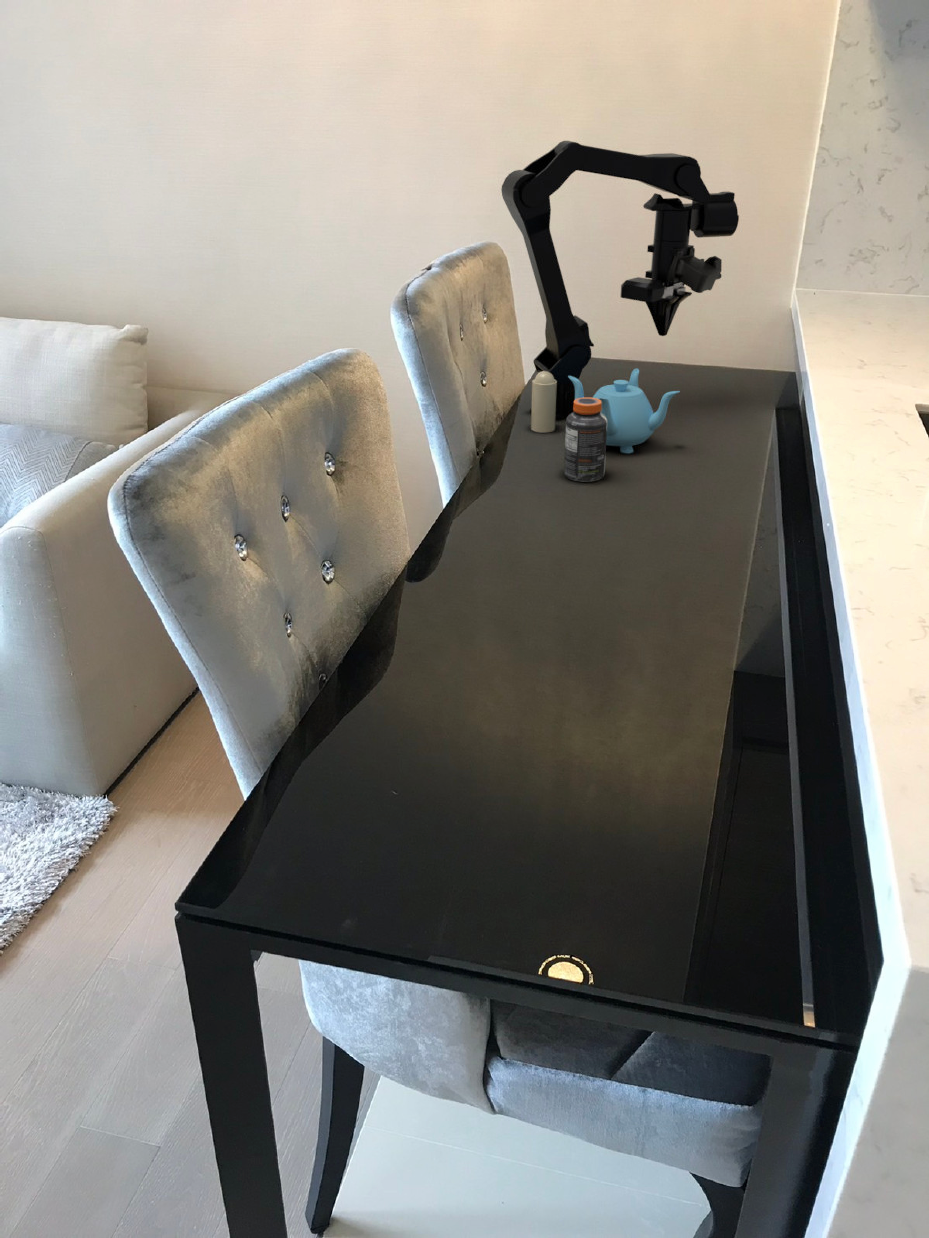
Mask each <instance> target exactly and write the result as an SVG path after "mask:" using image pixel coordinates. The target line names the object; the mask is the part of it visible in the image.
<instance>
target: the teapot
mask: <svg viewBox="0 0 929 1238" xmlns="http://www.w3.org/2000/svg"><path fill="white" fill-rule="evenodd" d="M639 375H640V369H639V368H634V369H633V370H632V371H631V374H630V377H629V380H625V379H616V380H614V381H613V384H608V385H603V386H601V387H599V389H598V390H596V392H595V393H594V395H593V396H592V398H597V399H599V400H601V401H602V410H601V413H602V414H603V415H604V416H605V417H606V418H607V438H606V446H611V447H619V448H620V449H619V450H620V452H621V453H623V454H631V453H634V448H633V446H636V445H640V444H642V443H644V442H646V441H647V440H648V439H649V438H650V437H651V436H652V435H653V434H654V432H655V430H656V429H658V428H659V427H661V425H662V424H663V423H664V422H665V419H666V416H667V414H668V413H667V412H668V407H669V403H670V401H671V399H672V398H673V397H674V396H676V395H677V394H679V393H680V392H681V391H680V390H673V391H672V390H671V391H667V392H666V393H664V394H663V395H662V397H661V400H660V403H659V406H658V409H657V410H656V411H655V412H654V410H653V408H652V405H651V402H650V401H649V398H648V397H647V395H646V394H645V392H644V391H643V390H642V388H640V387H639ZM568 377H569V379H570V380H571V381H572V382H573V384H574V387H575V399H578V398H584V397H585V393H584V387H583V384H582V382H581V380H580V379H579V380H578V379H577V378H575V377H572V376H568Z"/></svg>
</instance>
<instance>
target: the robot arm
mask: <svg viewBox="0 0 929 1238" xmlns="http://www.w3.org/2000/svg"><path fill="white" fill-rule="evenodd" d="M576 171H580V172H584V173H591V174H597V175H603V176H608V177H614V178H620V179H625V180H626V179H627V180H632V181H638V182H640V183H641V184H644V185H646V186H648V187H652V188H654V189H656V190H659V191H662V192H665V193H669V194H671V195H675V196H678V197H669V198H668V197H667V198H666V197H665V198H664V197H663V195H661V194H660V193H656V192H655V193H653V195H652V196H651V198H649V199H648V200H647V201H645V203H644V204H643V206H642V207H643V209H645V210H648V211H651V212H655V216H654V217H655V219H654V231H653V241H652V244H648V245H647V248H646V249H647V253H651V254H652V255H651V266H650V270H646V271H645V275H644V276H645V277H639V276H638V277H633V278H629V279H626V280H624V282H622V284H621V285H620V296H619V297H620V298H621V299H624V300H625V299H626V300H632V301H636V302H637V301H639V302H644V303H645V304H646V307H647V308H648V310H649V313H650V316H651V318H652V321H653V324H654V326H655V329H656V331H657V334H658V336H661V337H665V336H667V335H668V333H669V330H670V328H671V326H672V322H673V320H674V317H675V315H676V313H677V311H678V308H679V307H680V304H681V303H682V302H683V301H684V300H686V299H687V298H688V297H690V296H691V295H693V292H694V293H697V294H703V293H704V292H705V291H712V289H713V288H714V285H715V282H717V281H718V280H721V278H722V266H723V265H722V258H720V257H718V256H716V255H713V256H709V257H708V258H706V259H705V258H698V257H696V256H695V253H696V249H695V246H694V245H693V244H690V236H691V235H690V233H691V232H693V234H694V236H695V237H696V238H697V239H698V238H699V239H700V238H719V237H732V236H733V235H734V234H735V233H736V231H737V228H738V225H739V221H740V216H739V212H738V206H737V203H736V201H735V197H736V196H735V194H736V193H735V192H733V191H727V190H726V191H719V192H711V193H710V192H709V189H708V188H707V186H706V184H705V182H704V180H703V178H702V177H701V176H702V170H701V166H700V164H699V161H698V160H697V159H696V158H694V157H691V156H689V155H683V154H678V153H673V152H670V153H669V152H668V153H649V154H636V153H635V154H634V153H629V152H624V151H618V150H612V149H607V148H601V147H595V146H590V145H585V144H581V143H579V142H577V141H571V140H562V141H560V142H559V143H558V144H556V145H555V146H554V147H553V148H552V149H550V150H549V151H548V152H546V153H544V154H543V155H541V156H540V157H538V158H536V159H535V160H533V161H531V163H529V164H527V165H526V166H525V167H524V168H523V169H515V170H513V171H512V172H510V173H509V174H508V175H507V176H506V177H505V178H504V181H503V184H502V185H501V189H500V191H501V196H502V199H503V201H504V204H505V205H506V208H507V210H508V212H509V214H510V216H511V218H512V219H513V221H514V223H515V224H516V226H517V228H518V229H519V231H520V233H521V235H522V237H523V240H524V241H523V242H524V245H525V248H526V251H527V256H528V258H529V262H530V265H531V270H532V272H533V276H534V281H535V283H536V287H537V290H538V293H539V297H540V301H541V304H542V308H543V312H544V314H545V328H544V329H545V330H544V335H545V337H544V338H545V347H544V348H543V350H542V351H540V353H538V355H537V356H536V357H535V358H534V359H533V362H532V363H533V366H534V369H535V371H536V372H537V373H540V372H542V371H548V372H550V373H551V374H552V375H553V377H554V379H555V380H556V381H557V394H556V420H562V419H564V418H567V417H568V416H569V415H570V414H571V413H573V412H574V411H573V406H574V400H575V387H574V384H573V382H572V381H571V380H570V379H569V377H568V376H572V377H575V378H577V379H578V380H580V377H581V375H582V372H583V370H584V368H585V367H586V366H588V363H589V362H590V361H591V359H592V348H594V347H595V344H594V342H593V341H592V339H591V337H590V329H589V323H588V322H587V321H585V320H583V319H582V318H580V317H579V316H578V315H576V314H573V311H572V307H571V304H570V300H569V296H568V293H567V289H566V285H565V281H564V278H563V274H562V270H561V267H560V263H559V259H558V256H557V252H556V247H555V244H554V241H553V237H552V233H551V228H550V227H551V214H552V213H551V211H552V209H551V207H552V206H551V198H550V197H551V196H552V195H553V194H554V193H555V192H557V191H559V189H560V188H561V187H562V186H563V185H564V183H566V181H567V180H568V179H569V178H570V177H571V175H572V174H574V173H575V172H576ZM680 198H683V199H686V200H690V201H691V203H683V201H682V200H681V199H680ZM716 280H717V281H716ZM686 286H687V287H689V288H690V290H691V291H693V292H691V291H686ZM591 347H592V348H591ZM529 412H530V413H531V408H530V409H529Z"/></svg>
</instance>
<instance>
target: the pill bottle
mask: <svg viewBox="0 0 929 1238" xmlns="http://www.w3.org/2000/svg"><path fill="white" fill-rule="evenodd" d="M601 410H602V401H601V400H599V399H597V398H593V397H589V396H587V397H586V396H584V398H578V399H575V400H574V406H573V411H574V412H573V413H571V414H570V415H569V416H567V417H566V419H565V435H564V437H565V439H564V463H563V464H564V465H563V474H564V476H565V477H566V478H567V479H569V480H571V481H576V482H582V483H584V482H585V483H586V482H588V483H589V482H595V481H599V480H601V479H603V478H604V476H605V470H606V456H607V455H606V454H607V452H606V451H607V445H606V438H607V418H606V417H605V416H604V415H603V414H602V413H601Z"/></svg>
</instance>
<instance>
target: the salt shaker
mask: <svg viewBox="0 0 929 1238" xmlns="http://www.w3.org/2000/svg"><path fill="white" fill-rule="evenodd" d="M556 394H557V381H556V380H555V379H554V377H553V375H552V374H551V373H550V372H548V371H542V372H540V373H539V372H537V374H536V375H535V378H534V379H532V380H531V407H530V409H531V412H530V413H531V415H530V430H531V431H533V432H535V433H543V434H544V433H545V434H546V433H551V432H554V431H555V430H556V420H557V419H556Z"/></svg>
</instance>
